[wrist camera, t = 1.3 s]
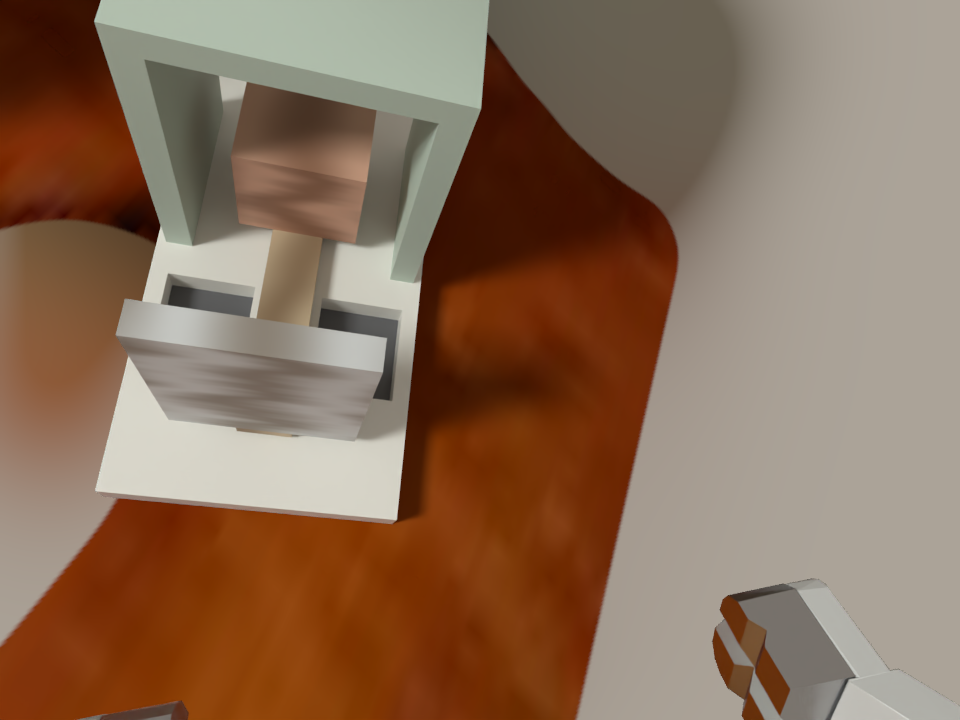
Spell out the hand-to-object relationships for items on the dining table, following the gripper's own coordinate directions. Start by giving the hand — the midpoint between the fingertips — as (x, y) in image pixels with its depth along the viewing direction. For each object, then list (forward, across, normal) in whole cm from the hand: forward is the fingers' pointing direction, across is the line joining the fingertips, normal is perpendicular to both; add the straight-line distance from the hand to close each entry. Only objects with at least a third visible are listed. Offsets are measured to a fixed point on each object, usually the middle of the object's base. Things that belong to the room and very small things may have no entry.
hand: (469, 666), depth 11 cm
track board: (+39, +4, +10) cm, 40 cm away
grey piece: (+35, +5, +10) cm, 36 cm away
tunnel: (+39, +4, +7) cm, 40 cm away
